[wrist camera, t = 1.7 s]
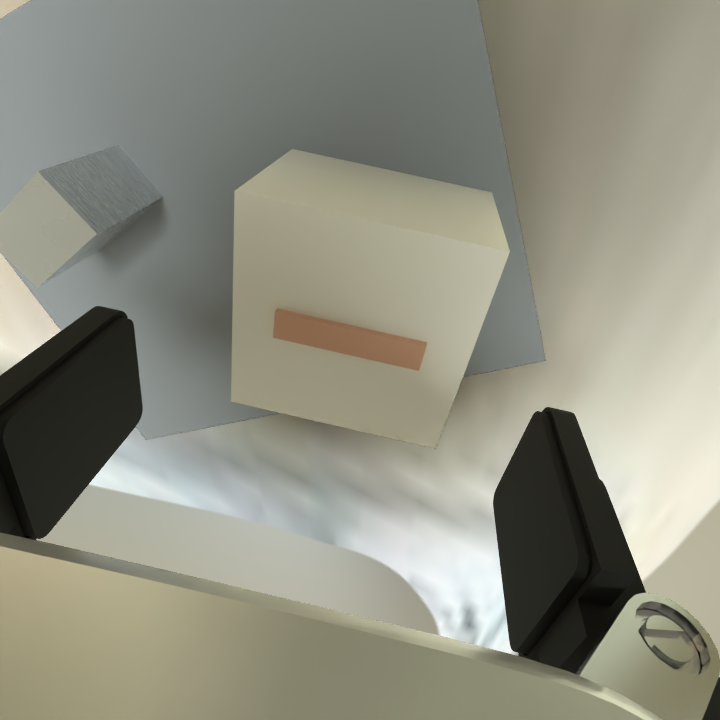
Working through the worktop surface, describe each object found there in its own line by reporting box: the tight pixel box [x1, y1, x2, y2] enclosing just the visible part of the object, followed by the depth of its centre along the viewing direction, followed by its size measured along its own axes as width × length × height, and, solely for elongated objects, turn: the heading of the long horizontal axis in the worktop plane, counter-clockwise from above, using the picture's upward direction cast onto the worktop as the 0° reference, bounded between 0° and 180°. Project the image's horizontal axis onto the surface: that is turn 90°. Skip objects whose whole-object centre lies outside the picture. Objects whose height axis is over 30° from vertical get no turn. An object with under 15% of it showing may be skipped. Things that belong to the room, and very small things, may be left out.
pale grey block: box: [0, 145, 163, 288], centre depth 15 cm, size 3×2×4 cm, turn 125°
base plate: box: [0, 0, 546, 440], centre depth 17 cm, size 19×16×2 cm
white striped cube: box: [231, 149, 510, 449], centre depth 15 cm, size 6×6×5 cm
